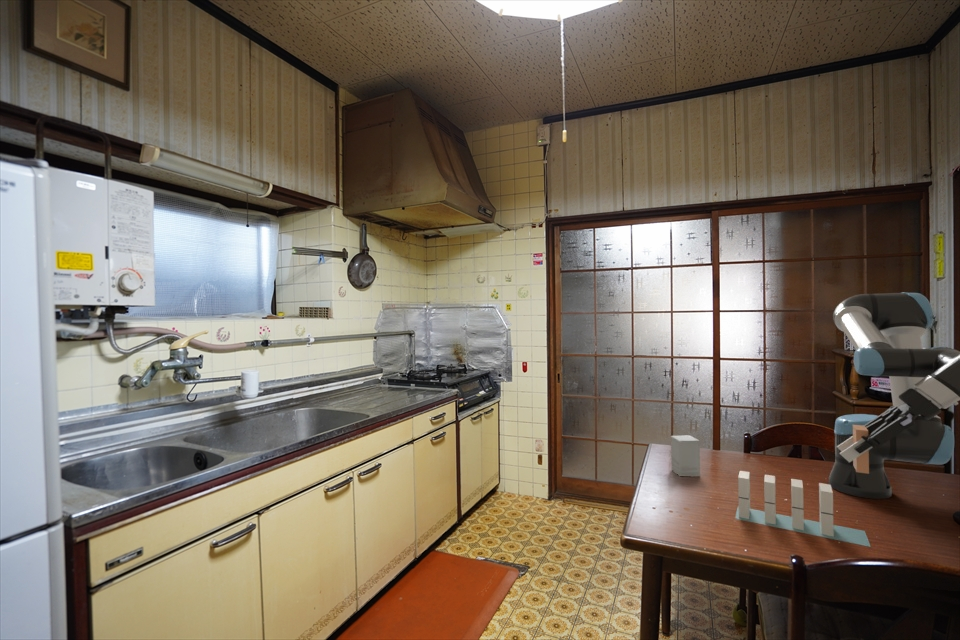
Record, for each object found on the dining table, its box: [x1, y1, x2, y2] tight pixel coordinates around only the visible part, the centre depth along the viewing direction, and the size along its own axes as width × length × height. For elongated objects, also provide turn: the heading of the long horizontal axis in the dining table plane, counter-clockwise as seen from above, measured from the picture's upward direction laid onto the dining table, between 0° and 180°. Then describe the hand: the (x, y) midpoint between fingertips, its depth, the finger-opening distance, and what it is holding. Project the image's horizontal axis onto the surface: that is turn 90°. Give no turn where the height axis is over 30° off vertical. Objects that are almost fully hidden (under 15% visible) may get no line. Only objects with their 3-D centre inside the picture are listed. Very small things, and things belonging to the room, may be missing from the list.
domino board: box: [734, 505, 872, 548], centre depth 116 cm, size 28×9×1 cm, turn 56°
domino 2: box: [763, 474, 777, 525], centre depth 120 cm, size 2×6×11 cm, turn 146°
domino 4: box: [818, 482, 834, 537], centre depth 113 cm, size 2×6×11 cm, turn 146°
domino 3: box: [790, 478, 805, 530], centre depth 116 cm, size 2×6×11 cm, turn 146°
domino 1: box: [737, 470, 751, 519], centre depth 123 cm, size 2×6×11 cm, turn 146°
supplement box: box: [670, 434, 701, 477], centre depth 157 cm, size 7×7×13 cm
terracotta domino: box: [853, 425, 869, 474], centre depth 116 cm, size 2×6×11 cm, turn 146°
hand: (842, 454), depth 118 cm, fingers closed on terracotta domino, 6 cm apart
